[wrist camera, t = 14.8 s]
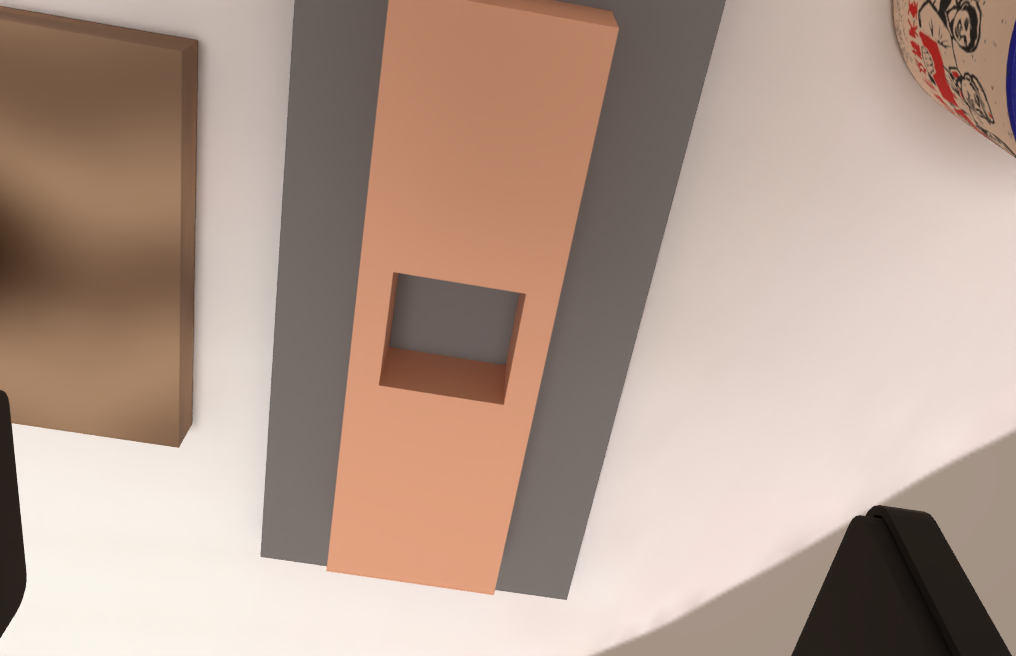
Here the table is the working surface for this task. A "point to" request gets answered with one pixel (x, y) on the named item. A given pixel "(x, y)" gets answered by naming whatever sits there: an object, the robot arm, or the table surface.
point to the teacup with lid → (965, 59)
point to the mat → (462, 307)
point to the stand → (97, 227)
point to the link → (461, 273)
